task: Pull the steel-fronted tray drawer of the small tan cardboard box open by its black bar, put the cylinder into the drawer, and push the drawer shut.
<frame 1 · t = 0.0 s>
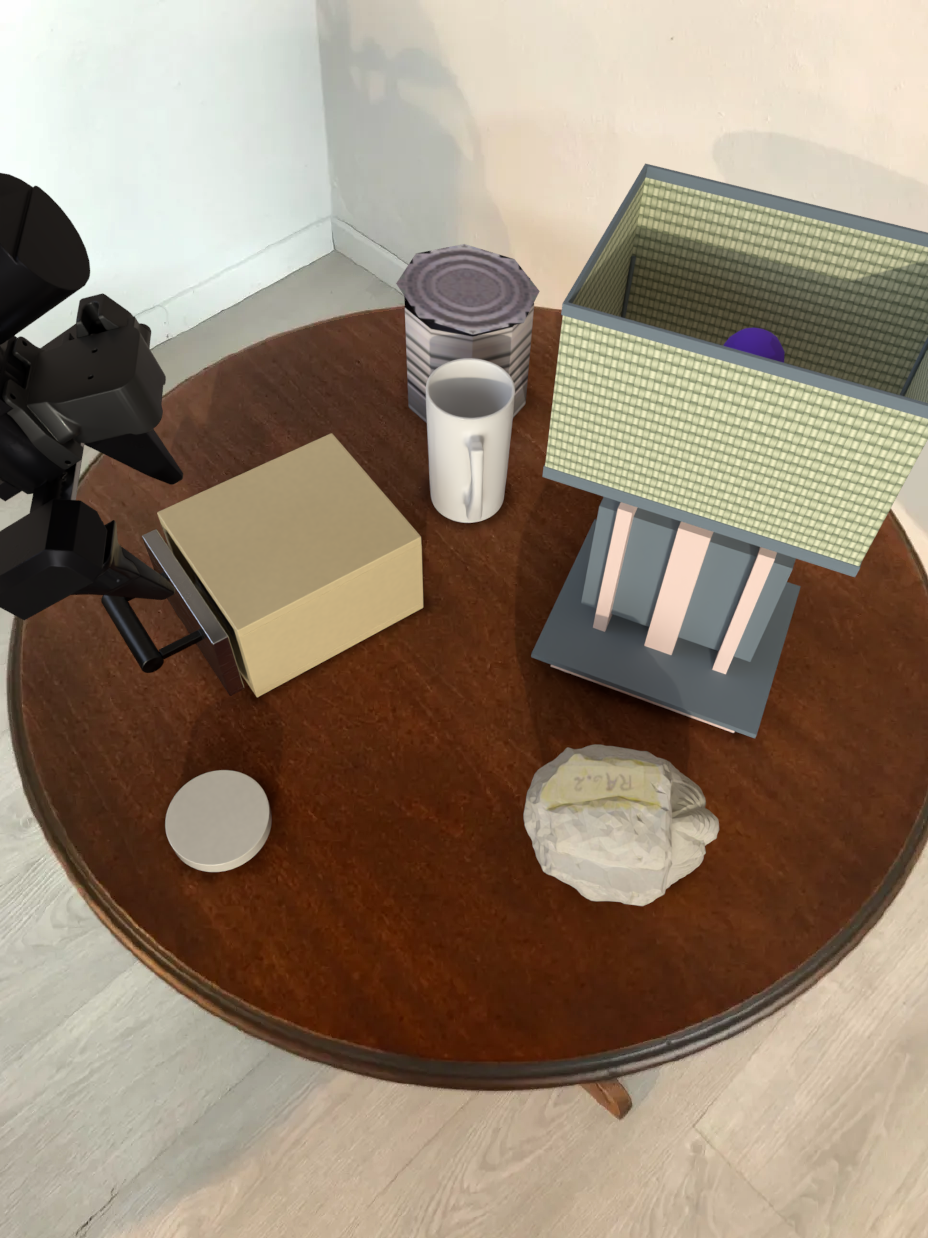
hand: (174, 534, 62), 16 cm above the table, tool tilted 35°, fingers open, 9 cm apart
fossil replica: (613, 848, 68), on the table
mug: (469, 512, 85), on the table
desk lamp: (663, 639, 78), on the table
tan cardboard box: (301, 595, 80), on the table
can: (466, 394, 94), on the table
cylinder: (222, 827, 68), on the table
drawer: (241, 588, 75), point 4 cm above the table, slide at 0.5 cm
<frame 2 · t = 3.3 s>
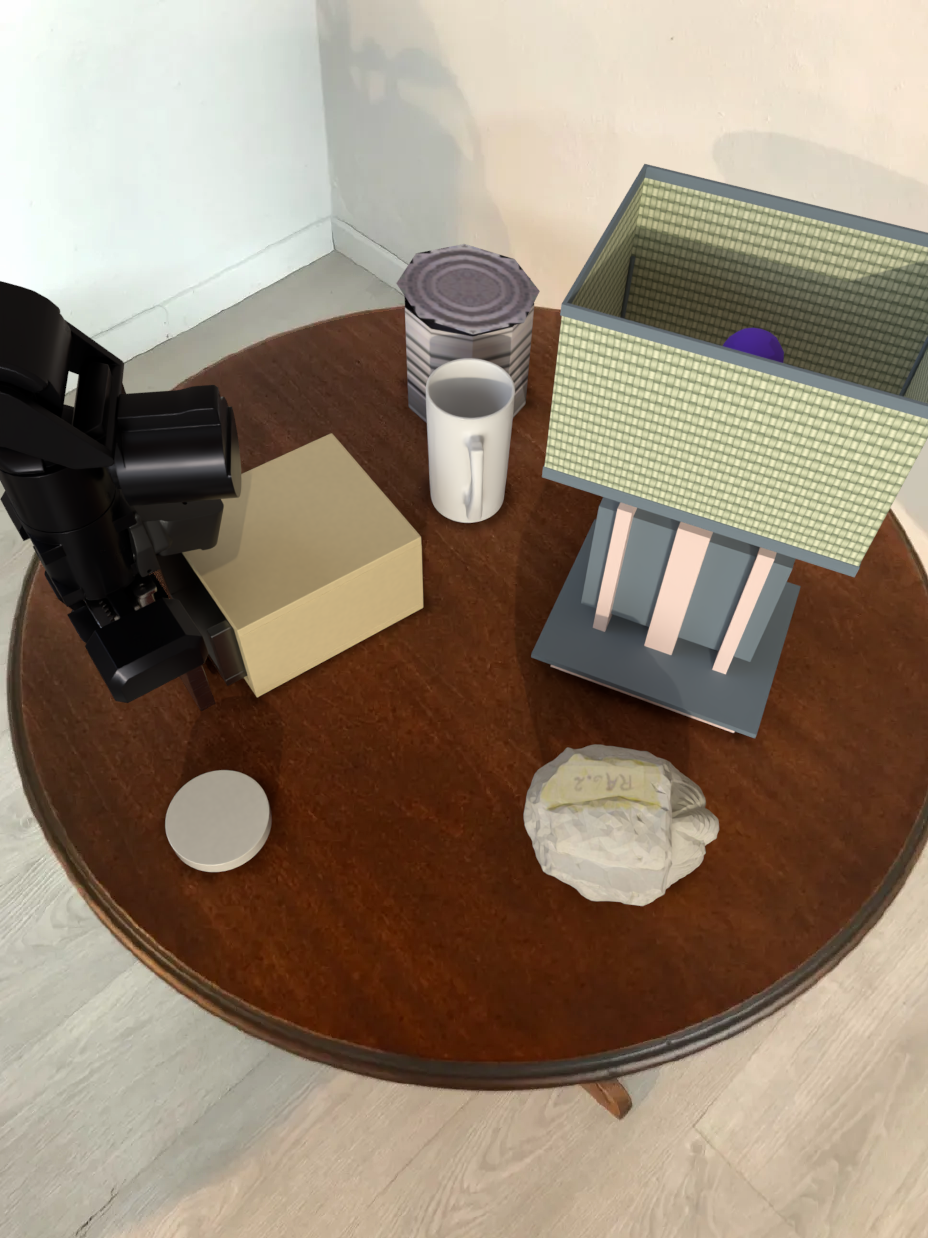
hand: (132, 644, 72), 4 cm above the table, tool pointing down, fingers closed, pressing on drawer
drawer: (212, 602, 74), point 4 cm above the table, slide at 2.8 cm, touching gripper
everything else where it was.
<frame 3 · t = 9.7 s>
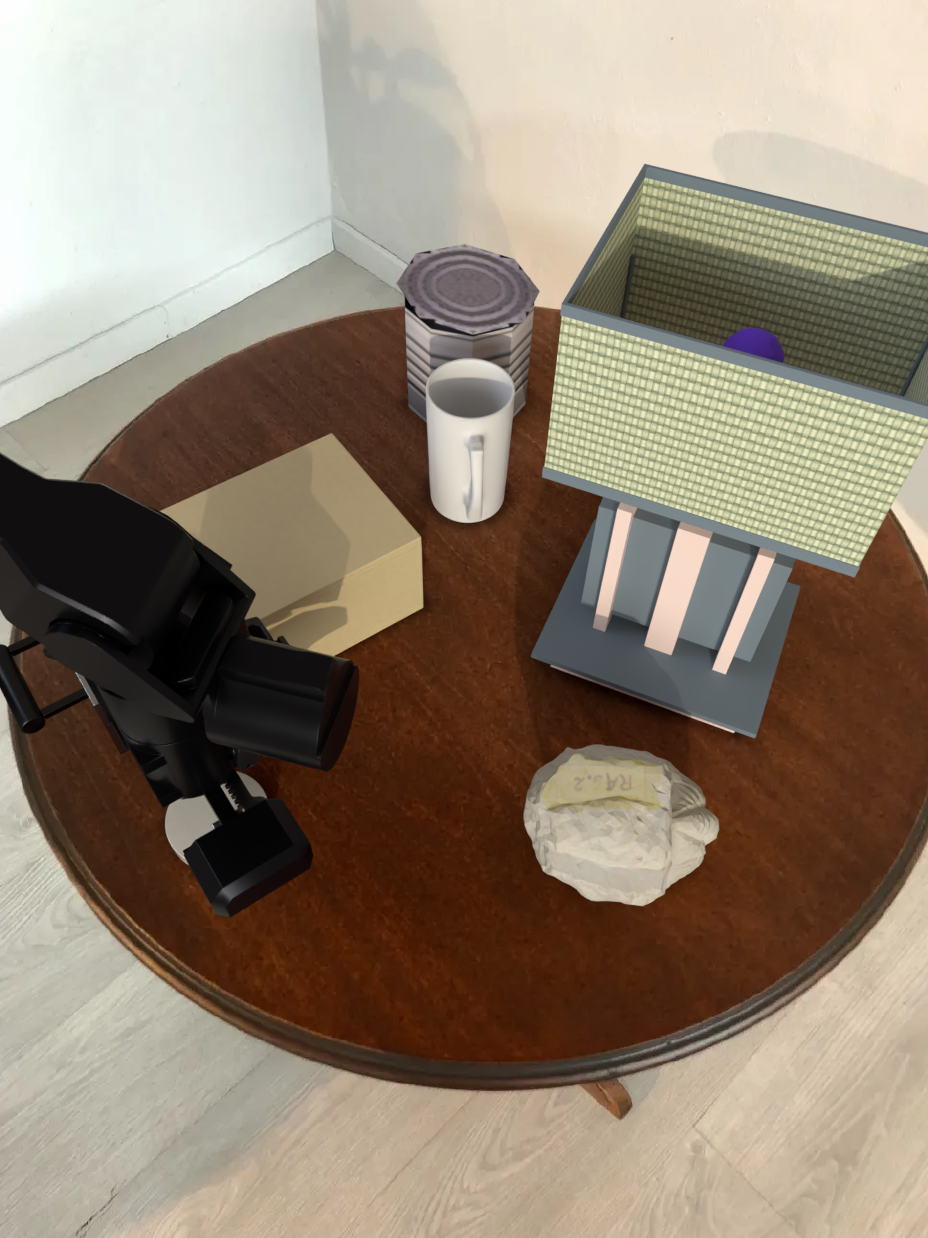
hand: (219, 819, 67), 1 cm above the table, tool pointing down, fingers closed on cylinder, 7 cm apart
cylinder: (222, 826, 68), on the table, touching gripper
drawer: (134, 641, 72), point 4 cm above the table, slide at 8.9 cm
everything else where it was.
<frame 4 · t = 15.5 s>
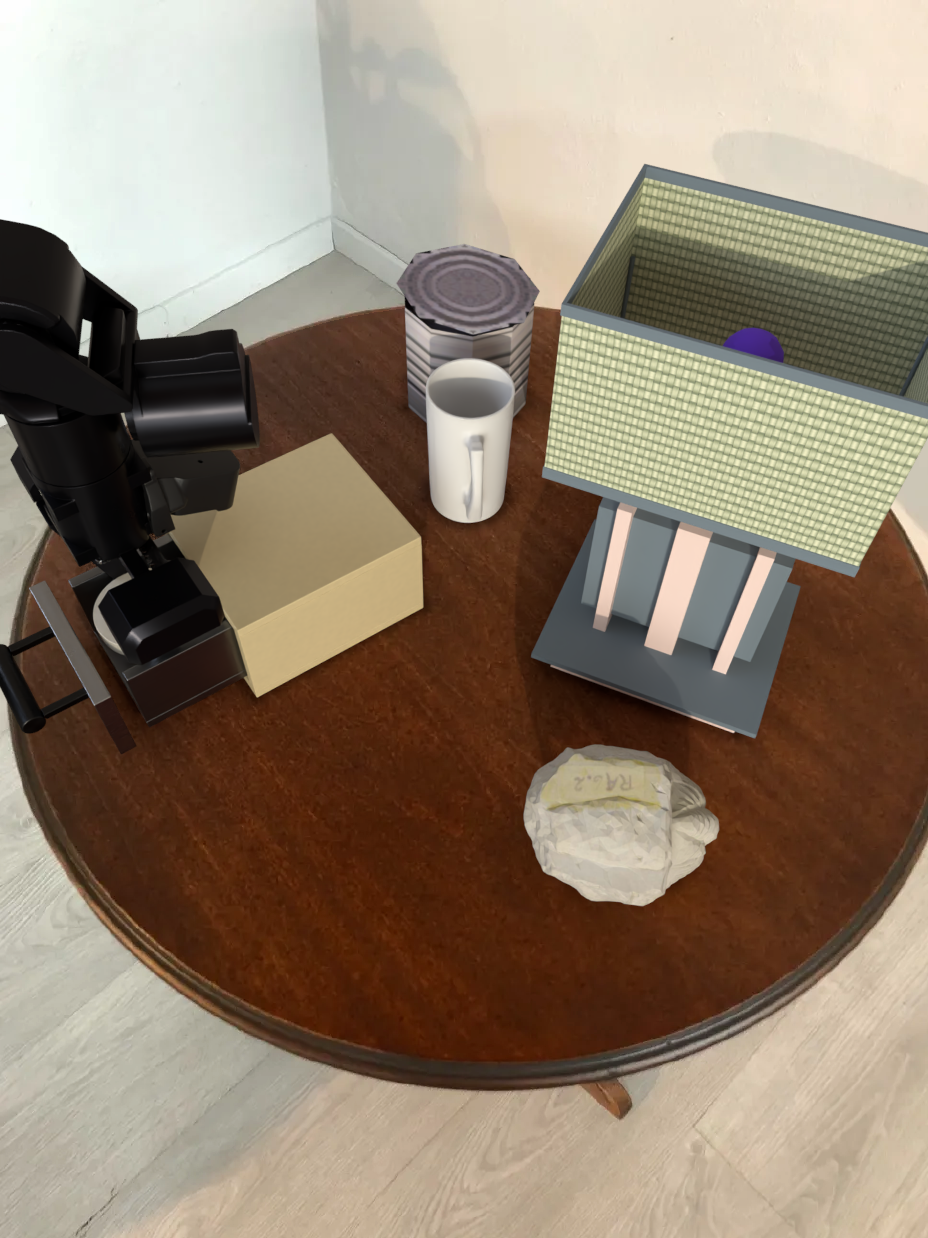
hand: (145, 611, 70), 7 cm above the table, tool pointing down, fingers closed on cylinder, 7 cm apart
cylinder: (149, 621, 71), point 6 cm above the table, touching gripper
everything else where it was.
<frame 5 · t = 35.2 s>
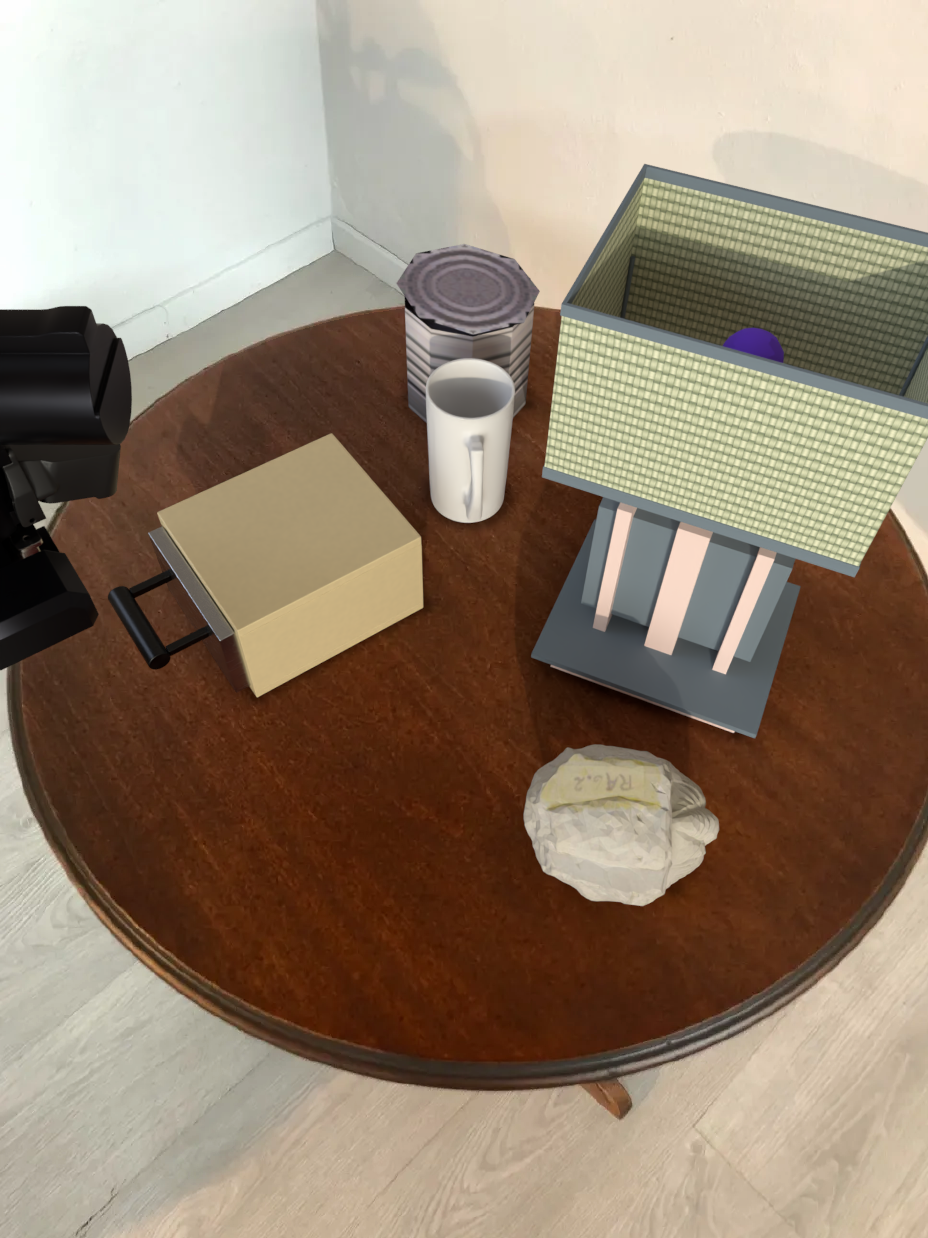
hand: (29, 610, 64), 12 cm above the table, tool pointing down, fingers closed
cylinder: (268, 596, 77), point 2 cm above the table, touching drawer
drawer: (247, 585, 75), point 4 cm above the table, slide at 0.0 cm, touching tan cardboard box, cylinder
everything else where it was.
at the end: drawer pulled out 8.9 cm at the most during the clip, back to where it started at the end; cylinder inside the target area in the tan cardboard box (2.7 cm from its centre), point 2.0 cm above the tan cardboard box's base; drawer slide at 0.0 cm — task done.
